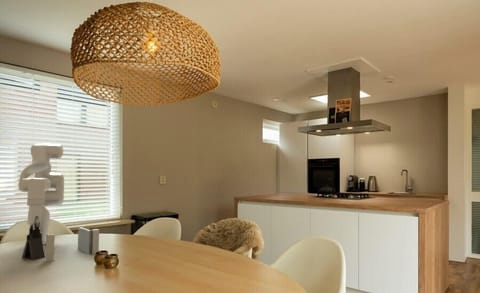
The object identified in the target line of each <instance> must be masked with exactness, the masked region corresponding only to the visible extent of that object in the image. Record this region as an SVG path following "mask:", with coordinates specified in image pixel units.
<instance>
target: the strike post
mask: <svg viewBox="0 0 480 293" xmlns="http://www.w3.org/2000/svg"><path fill="white" fill-rule="evenodd" d="M55 236H56V235H55V233H49V234H47V236H46V244H45V262H53V261H54V260H55V259H54V258H55V241H56V240H55Z"/></svg>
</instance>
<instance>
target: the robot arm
mask: <svg viewBox="0 0 480 293" xmlns="http://www.w3.org/2000/svg"><path fill="white" fill-rule="evenodd" d="M30 155H31V157H32V159H31V163H30V164H28V165H27V166H26V167H24V168H23V170H22V171H21V173H20V176H19V180H18V190H19V191H20V192H21V193H27V199H26V200H27V201H26V202H27V203H26V205H27V206H28V211H27V221H26V222H27V225H28V226H29V229H28V230H29V231H28V235H29V234H32V238H39V237H40V233H42V243H43V246H44V245H46V236H47V234H50V218H51V213H50V211H49V210H48V208H46V207H55V206H62V204H63V203H64V197H65V176H64V175H63V174H62V173H60V172H52V164H51V163H50V160H51V159H61V158H62V157H63V155H64V148H63V145H61V144H55V143H52V144H51V143H36V144H33V145H31V147H30ZM32 175H33V176H34V177H30V176H32ZM50 189H51V190H50ZM52 189H55V190H52Z"/></svg>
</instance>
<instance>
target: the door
mask: <svg viewBox="0 0 480 293" xmlns="http://www.w3.org/2000/svg"><path fill="white" fill-rule="evenodd" d="M77 232H78V233H77V250H78V251H80V252H83V253H85V254H87V255H92V254H91V251H92V229H89V228H85V227H81V226H80V227H78V230H77Z"/></svg>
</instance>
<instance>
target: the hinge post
mask: <svg viewBox="0 0 480 293" xmlns="http://www.w3.org/2000/svg"><path fill="white" fill-rule="evenodd" d="M91 230H92V251H91V254H90V255H96V254H95V253H96V252H98V251H99V250H100V249H99V248H100V247H99V246H100V229H99V228H94V229H91Z"/></svg>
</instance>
